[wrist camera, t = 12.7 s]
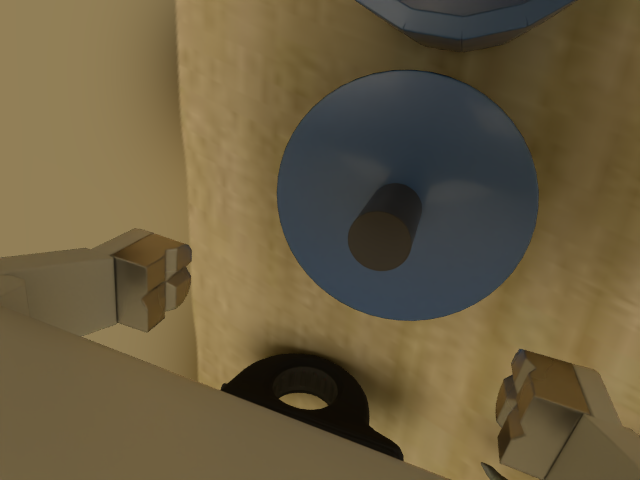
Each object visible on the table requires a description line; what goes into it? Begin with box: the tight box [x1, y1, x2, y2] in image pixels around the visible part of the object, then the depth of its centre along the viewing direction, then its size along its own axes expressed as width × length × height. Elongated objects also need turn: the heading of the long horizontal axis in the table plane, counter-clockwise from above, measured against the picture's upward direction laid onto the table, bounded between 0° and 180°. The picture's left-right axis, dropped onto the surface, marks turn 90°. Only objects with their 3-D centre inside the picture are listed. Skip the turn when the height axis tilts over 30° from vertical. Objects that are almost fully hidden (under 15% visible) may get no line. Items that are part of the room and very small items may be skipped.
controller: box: [220, 354, 403, 461], centre depth 27 cm, size 4×12×10 cm, turn 83°
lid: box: [277, 70, 539, 321], centre depth 18 cm, size 12×12×6 cm
